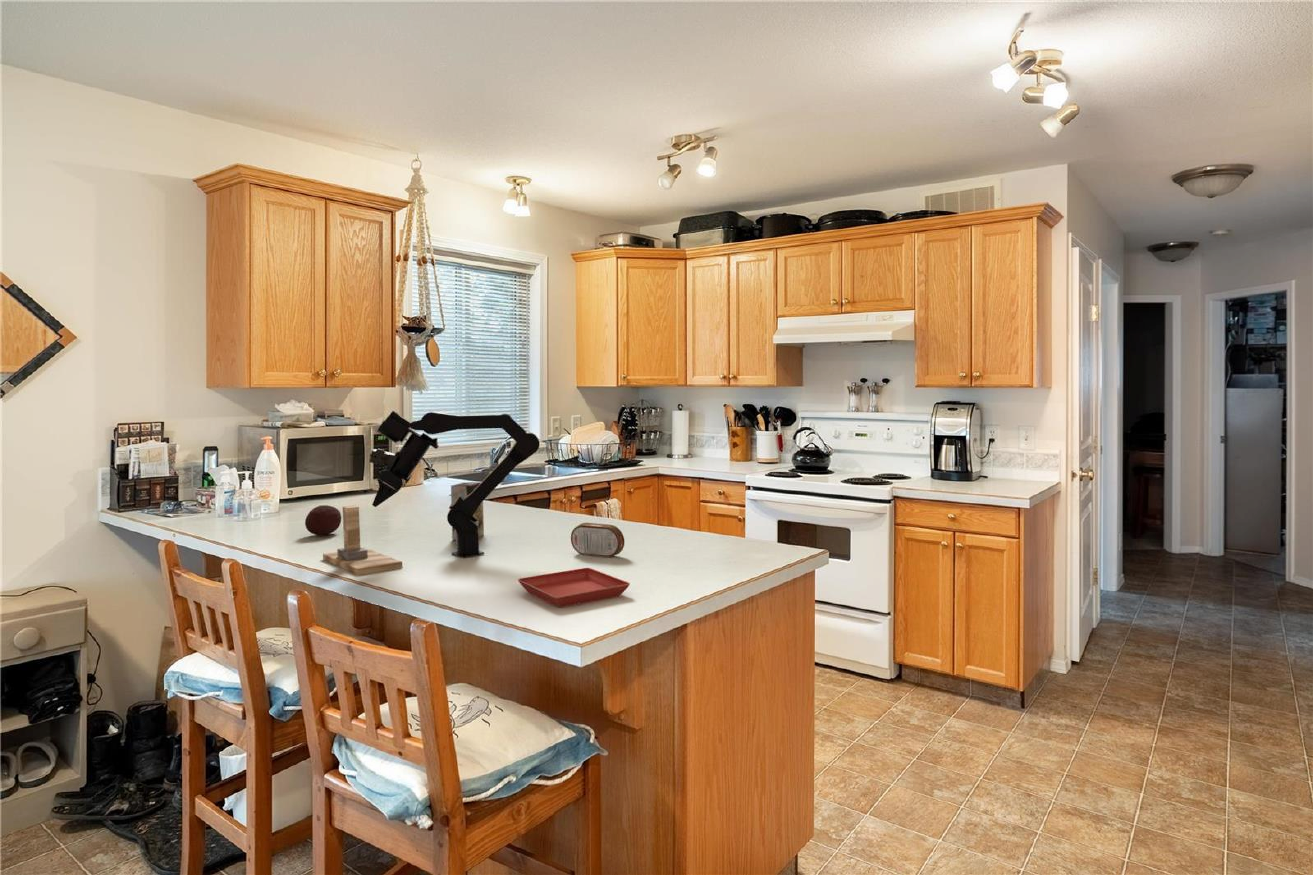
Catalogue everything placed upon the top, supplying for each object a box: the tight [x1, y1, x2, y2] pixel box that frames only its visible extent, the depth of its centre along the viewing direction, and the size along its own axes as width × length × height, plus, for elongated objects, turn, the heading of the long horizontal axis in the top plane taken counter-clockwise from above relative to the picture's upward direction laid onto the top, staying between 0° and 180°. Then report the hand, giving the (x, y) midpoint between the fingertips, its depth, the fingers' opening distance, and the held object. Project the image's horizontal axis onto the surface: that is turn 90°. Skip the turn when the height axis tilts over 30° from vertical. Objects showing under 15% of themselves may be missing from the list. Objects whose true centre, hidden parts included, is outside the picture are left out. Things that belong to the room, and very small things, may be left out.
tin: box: [570, 522, 625, 558], centre depth 205 cm, size 15×3×8 cm, turn 65°
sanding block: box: [336, 505, 368, 561], centre depth 199 cm, size 7×5×13 cm
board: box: [322, 547, 403, 576], centre depth 199 cm, size 24×11×2 cm, turn 42°
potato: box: [304, 504, 342, 537], centre depth 238 cm, size 9×12×9 cm
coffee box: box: [450, 481, 485, 541], centre depth 232 cm, size 9×6×16 cm
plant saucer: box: [517, 567, 631, 608], centre depth 167 cm, size 18×18×3 cm
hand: (376, 503), depth 203 cm, fingers open, 9 cm apart
